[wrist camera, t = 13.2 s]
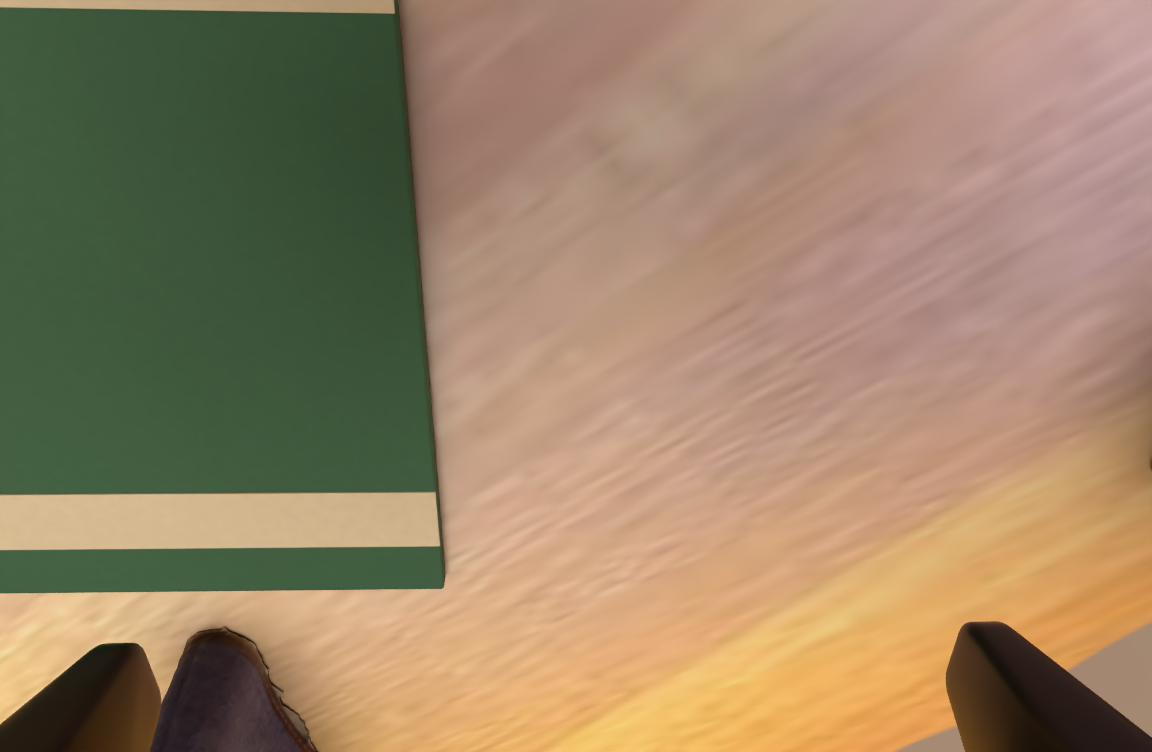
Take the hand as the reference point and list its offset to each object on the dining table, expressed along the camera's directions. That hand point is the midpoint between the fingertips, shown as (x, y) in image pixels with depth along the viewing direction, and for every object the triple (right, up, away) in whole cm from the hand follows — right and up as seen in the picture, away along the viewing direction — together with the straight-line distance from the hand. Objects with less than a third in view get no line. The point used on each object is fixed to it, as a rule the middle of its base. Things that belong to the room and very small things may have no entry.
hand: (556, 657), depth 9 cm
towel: (-11, +5, +11) cm, 16 cm away
